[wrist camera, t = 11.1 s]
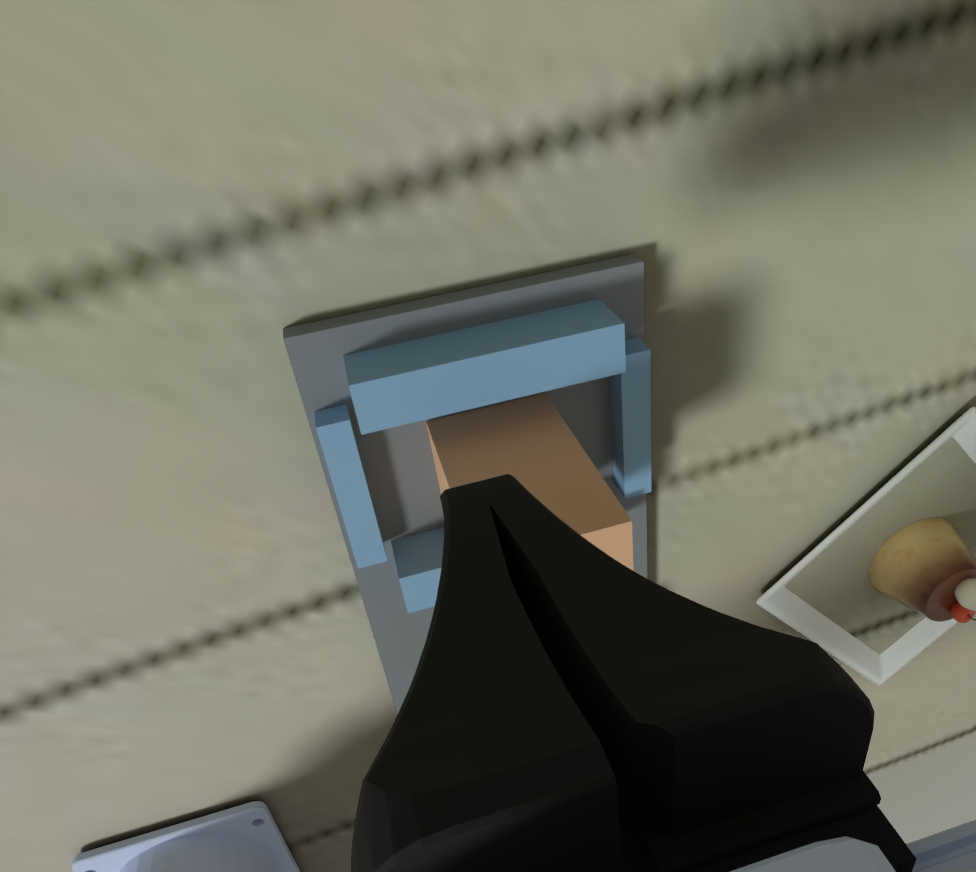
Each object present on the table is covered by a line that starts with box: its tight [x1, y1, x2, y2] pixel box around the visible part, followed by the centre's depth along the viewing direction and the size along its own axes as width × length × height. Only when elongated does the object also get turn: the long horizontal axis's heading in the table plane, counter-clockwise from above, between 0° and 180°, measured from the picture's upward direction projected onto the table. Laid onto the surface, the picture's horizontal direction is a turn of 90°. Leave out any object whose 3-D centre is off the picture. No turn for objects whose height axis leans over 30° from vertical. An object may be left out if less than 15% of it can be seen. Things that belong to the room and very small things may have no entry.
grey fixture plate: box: [283, 254, 651, 714], centre depth 28 cm, size 25×11×3 cm, turn 8°
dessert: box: [756, 406, 976, 686], centre depth 33 cm, size 12×12×5 cm
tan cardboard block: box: [426, 393, 633, 570], centre depth 22 cm, size 4×4×7 cm
